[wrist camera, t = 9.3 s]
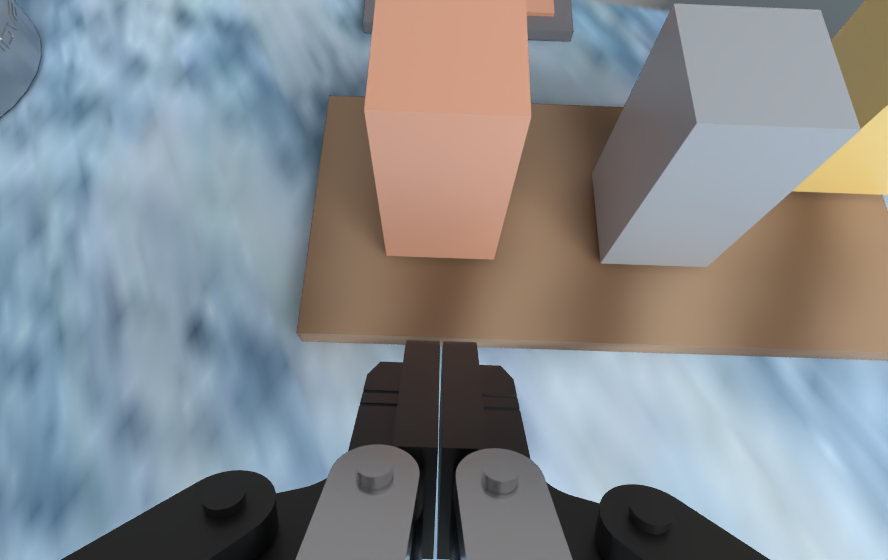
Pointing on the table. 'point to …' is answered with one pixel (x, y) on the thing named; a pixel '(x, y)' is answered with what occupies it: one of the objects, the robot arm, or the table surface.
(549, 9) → the card
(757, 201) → the grey rectangular block
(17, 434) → the table surface
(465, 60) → the salmon pink block
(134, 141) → the table surface
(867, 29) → the yellow tall block
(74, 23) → the table surface
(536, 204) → the keypad base
